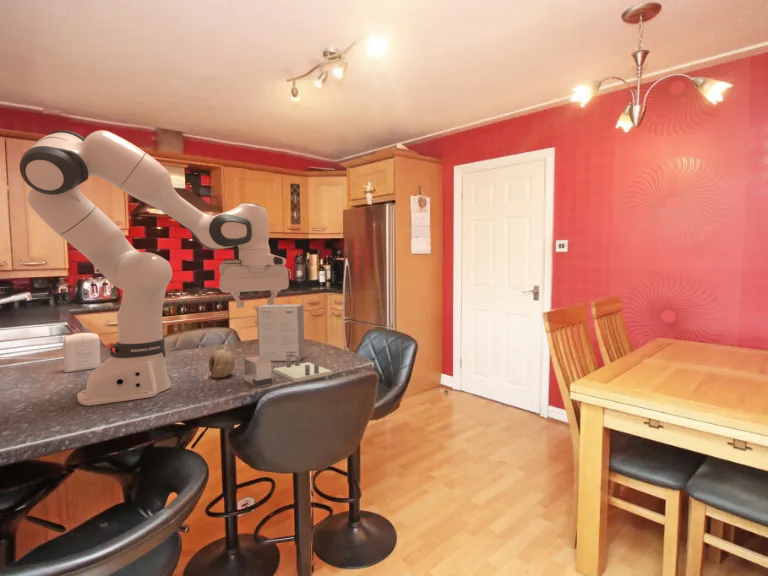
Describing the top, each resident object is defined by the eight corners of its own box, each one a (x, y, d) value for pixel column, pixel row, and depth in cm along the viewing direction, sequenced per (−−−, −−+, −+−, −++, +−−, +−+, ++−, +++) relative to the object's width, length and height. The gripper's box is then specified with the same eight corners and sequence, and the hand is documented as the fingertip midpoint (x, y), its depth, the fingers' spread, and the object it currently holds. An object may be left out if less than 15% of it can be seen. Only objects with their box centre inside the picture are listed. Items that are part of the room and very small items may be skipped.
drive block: (257, 387, 125) (256, 364, 124) (244, 380, 132) (244, 358, 131) (271, 384, 128) (271, 361, 127) (259, 378, 135) (258, 355, 134)
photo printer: (99, 365, 151) (97, 330, 150) (102, 367, 148) (100, 332, 147) (63, 371, 143) (60, 334, 142) (65, 373, 140) (63, 336, 139)
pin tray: (295, 382, 130) (295, 368, 129) (273, 372, 141) (273, 359, 141) (332, 374, 138) (331, 361, 138) (308, 365, 149) (308, 353, 149)
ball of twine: (220, 380, 141) (220, 349, 143) (242, 377, 139) (242, 346, 141) (200, 378, 132) (201, 346, 135) (223, 376, 130) (224, 343, 133)
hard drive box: (305, 357, 162) (304, 304, 161) (299, 362, 155) (298, 306, 153) (265, 356, 164) (264, 304, 162) (257, 361, 156) (256, 306, 155)
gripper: (222, 260, 118) (224, 310, 119) (290, 259, 131) (291, 304, 132) (215, 259, 123) (216, 308, 124) (281, 259, 136) (282, 302, 137)
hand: (256, 306), depth 128 cm, fingers open, 8 cm apart
